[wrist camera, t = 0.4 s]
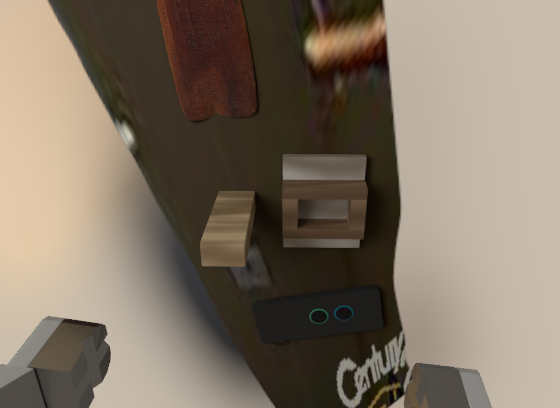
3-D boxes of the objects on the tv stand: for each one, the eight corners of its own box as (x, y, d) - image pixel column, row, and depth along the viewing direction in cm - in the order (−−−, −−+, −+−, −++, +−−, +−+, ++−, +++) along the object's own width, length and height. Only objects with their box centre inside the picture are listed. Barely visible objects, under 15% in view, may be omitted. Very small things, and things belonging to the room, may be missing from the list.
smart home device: (384, 329, 71) (262, 345, 74) (382, 322, 73) (263, 337, 75) (379, 288, 68) (251, 306, 70) (377, 281, 69) (252, 298, 71)
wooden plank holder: (283, 154, 60) (282, 165, 56) (365, 154, 59) (370, 165, 56) (283, 243, 66) (282, 258, 62) (358, 244, 66) (361, 259, 62)
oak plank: (219, 191, 62) (199, 243, 50) (254, 191, 62) (244, 244, 50) (220, 209, 64) (202, 265, 51) (255, 210, 64) (245, 266, 51)
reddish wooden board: (261, 112, 58) (260, 116, 56) (187, 122, 59) (184, 126, 57) (220, -138, 46) (218, -142, 45) (128, -121, 47) (122, -125, 46)
